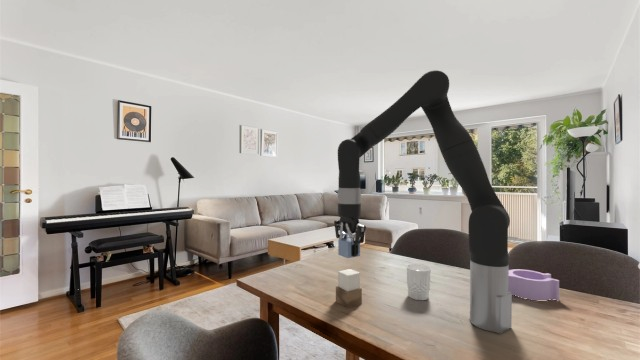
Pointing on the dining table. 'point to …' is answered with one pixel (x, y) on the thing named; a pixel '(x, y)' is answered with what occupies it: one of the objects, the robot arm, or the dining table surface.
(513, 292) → the purple piece
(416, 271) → the white cup
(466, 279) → the dining table surface
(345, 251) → the blue cube
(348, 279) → the tower top
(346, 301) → the tower base
